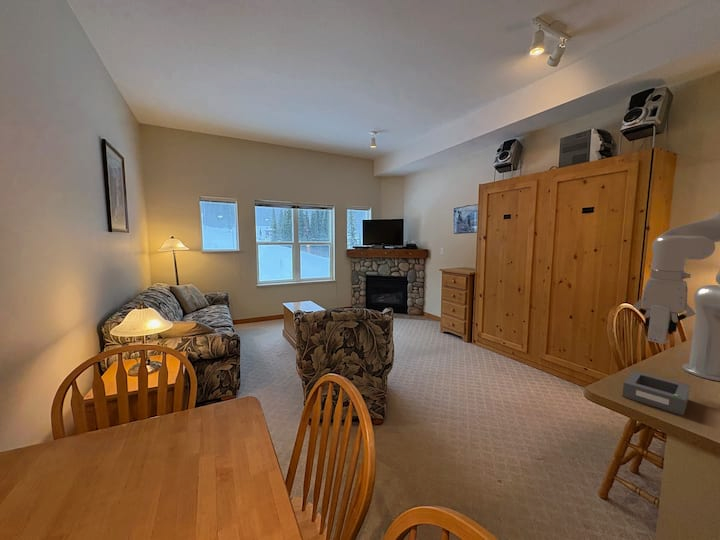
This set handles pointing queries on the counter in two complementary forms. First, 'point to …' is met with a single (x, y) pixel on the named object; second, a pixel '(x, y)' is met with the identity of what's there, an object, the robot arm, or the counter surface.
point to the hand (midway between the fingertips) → (659, 330)
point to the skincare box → (659, 324)
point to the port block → (657, 392)
